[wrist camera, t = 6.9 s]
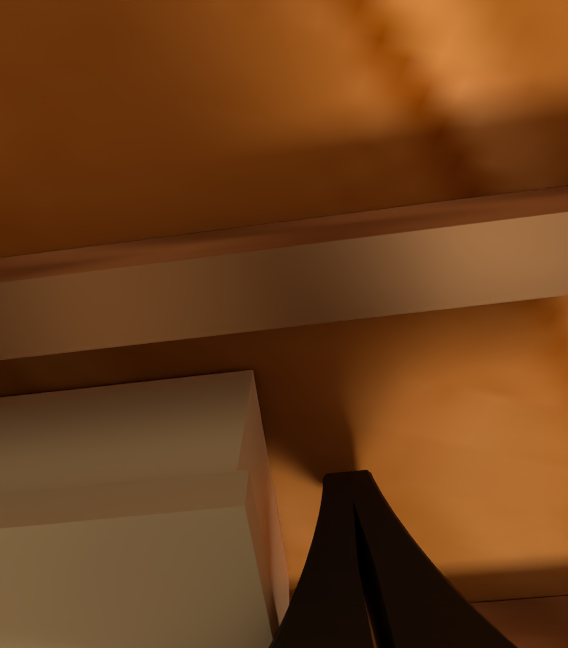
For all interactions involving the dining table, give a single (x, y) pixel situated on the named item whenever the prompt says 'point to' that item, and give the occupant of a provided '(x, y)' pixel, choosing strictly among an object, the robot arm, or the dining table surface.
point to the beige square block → (139, 518)
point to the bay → (301, 294)
